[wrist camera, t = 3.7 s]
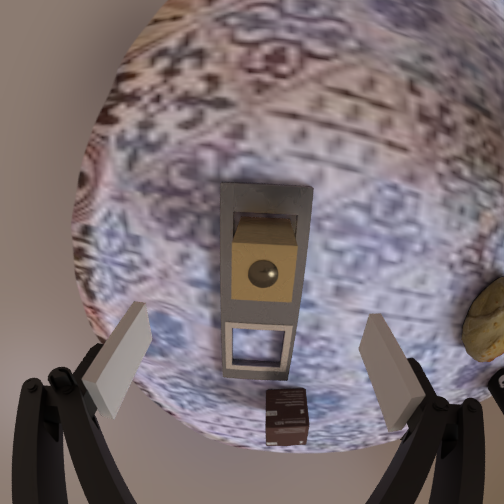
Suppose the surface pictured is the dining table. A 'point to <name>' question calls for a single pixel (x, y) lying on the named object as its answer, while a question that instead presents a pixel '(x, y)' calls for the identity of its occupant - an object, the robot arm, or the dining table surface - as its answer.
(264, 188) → the grey board with holes
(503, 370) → the beverage can
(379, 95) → the dining table surface
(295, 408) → the box
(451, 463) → the robot arm
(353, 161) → the dining table surface
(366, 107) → the dining table surface
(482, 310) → the pastry
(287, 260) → the gold block with hole
